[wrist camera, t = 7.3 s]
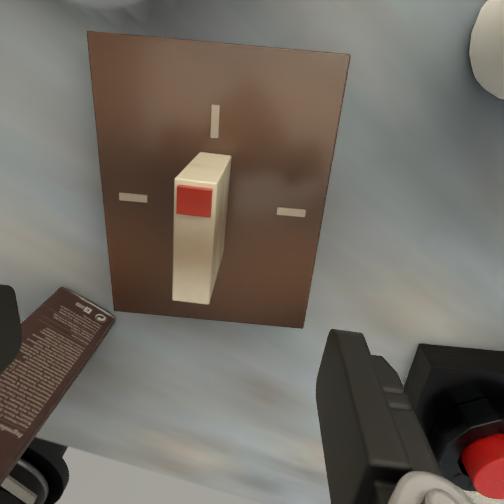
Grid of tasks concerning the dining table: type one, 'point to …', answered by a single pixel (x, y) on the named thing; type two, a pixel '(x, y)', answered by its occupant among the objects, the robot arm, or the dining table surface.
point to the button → (486, 465)
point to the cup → (489, 48)
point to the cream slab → (199, 226)
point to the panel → (217, 142)
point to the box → (46, 368)
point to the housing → (456, 402)
